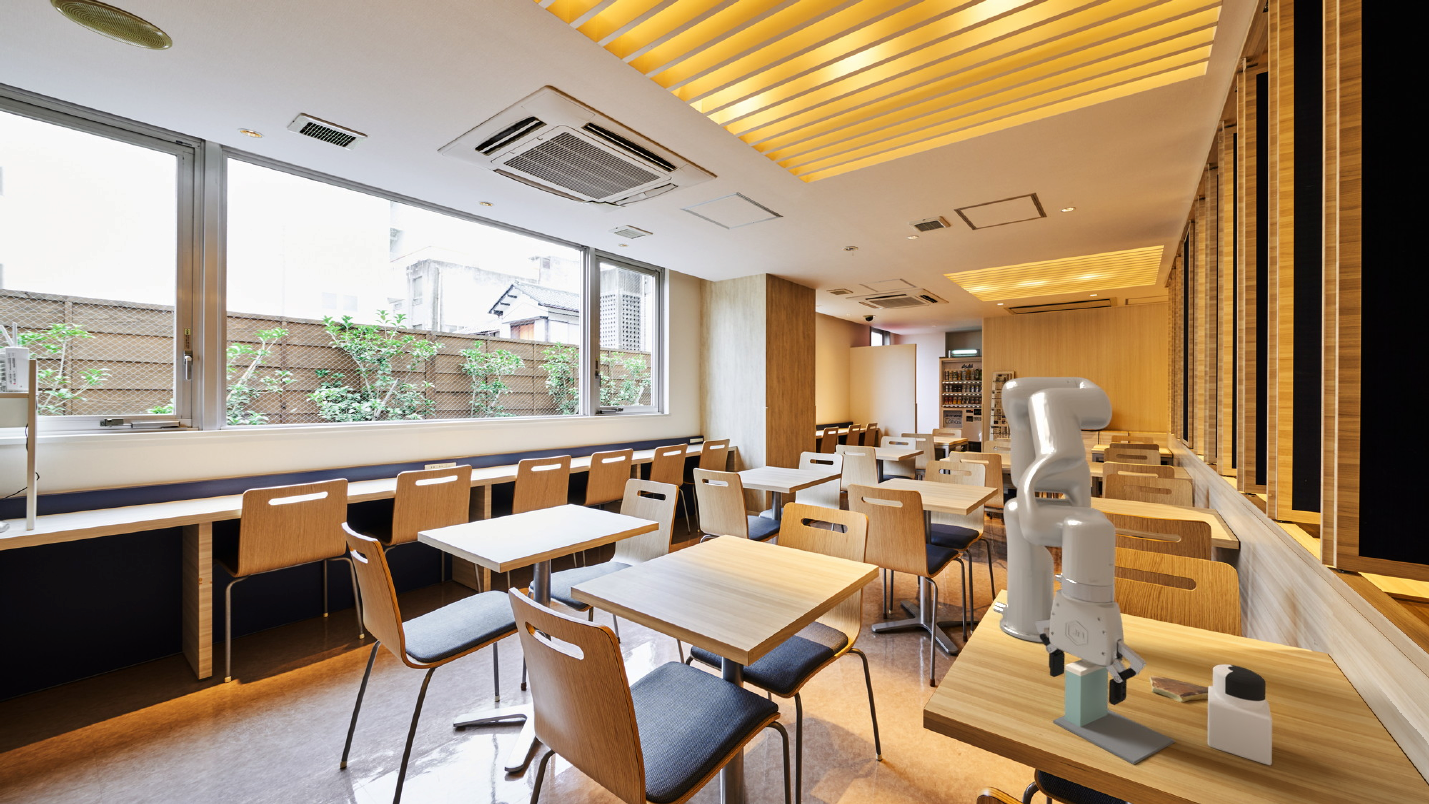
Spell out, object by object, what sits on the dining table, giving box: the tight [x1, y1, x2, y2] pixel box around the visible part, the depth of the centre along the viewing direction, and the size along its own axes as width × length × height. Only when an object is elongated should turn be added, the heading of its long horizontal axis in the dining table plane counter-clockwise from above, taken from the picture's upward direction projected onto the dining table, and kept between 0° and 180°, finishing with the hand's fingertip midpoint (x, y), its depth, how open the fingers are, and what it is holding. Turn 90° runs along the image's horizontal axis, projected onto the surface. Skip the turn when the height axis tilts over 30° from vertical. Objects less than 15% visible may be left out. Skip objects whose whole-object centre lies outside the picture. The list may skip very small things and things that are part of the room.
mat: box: [1052, 709, 1175, 765], centre depth 91 cm, size 12×12×1 cm
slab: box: [1064, 658, 1109, 727], centre depth 95 cm, size 2×8×9 cm, turn 117°
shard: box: [1149, 675, 1209, 703], centre depth 102 cm, size 11×8×2 cm
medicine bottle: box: [1207, 664, 1273, 766], centre depth 88 cm, size 7×7×12 cm
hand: (1085, 687), depth 95 cm, fingers open, 9 cm apart
